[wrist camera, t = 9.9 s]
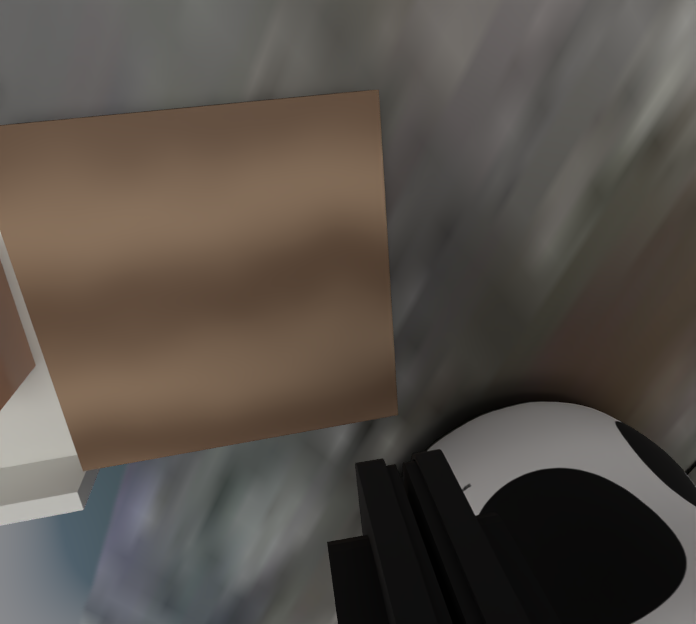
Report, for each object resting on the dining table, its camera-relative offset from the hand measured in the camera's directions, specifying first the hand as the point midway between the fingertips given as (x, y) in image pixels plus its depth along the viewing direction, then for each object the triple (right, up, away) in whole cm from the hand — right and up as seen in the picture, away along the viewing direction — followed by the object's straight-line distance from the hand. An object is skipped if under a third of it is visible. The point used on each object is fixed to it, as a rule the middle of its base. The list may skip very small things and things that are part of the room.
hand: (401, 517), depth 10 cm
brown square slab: (-7, +6, +14) cm, 17 cm away
